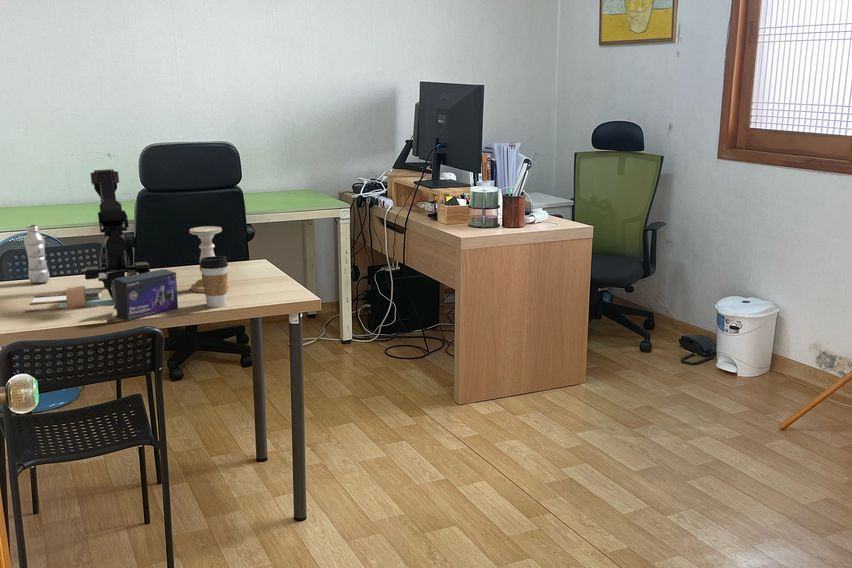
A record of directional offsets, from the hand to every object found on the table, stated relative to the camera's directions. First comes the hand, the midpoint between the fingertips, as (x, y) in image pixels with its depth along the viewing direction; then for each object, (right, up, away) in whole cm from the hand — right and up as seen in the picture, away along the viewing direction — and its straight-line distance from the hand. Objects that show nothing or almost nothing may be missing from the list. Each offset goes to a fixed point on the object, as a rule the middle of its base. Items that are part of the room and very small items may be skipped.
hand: (120, 297), depth 258 cm
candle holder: (+23, +3, +19) cm, 30 cm away
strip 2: (-7, -3, -2) cm, 8 cm away
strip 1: (-18, -1, +4) cm, 19 cm away
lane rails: (-17, -2, 0) cm, 17 cm away
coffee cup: (+30, -2, -1) cm, 31 cm away
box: (+12, -5, -10) cm, 16 cm away
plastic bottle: (-39, +4, +29) cm, 49 cm away
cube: (-12, -2, -3) cm, 13 cm away
